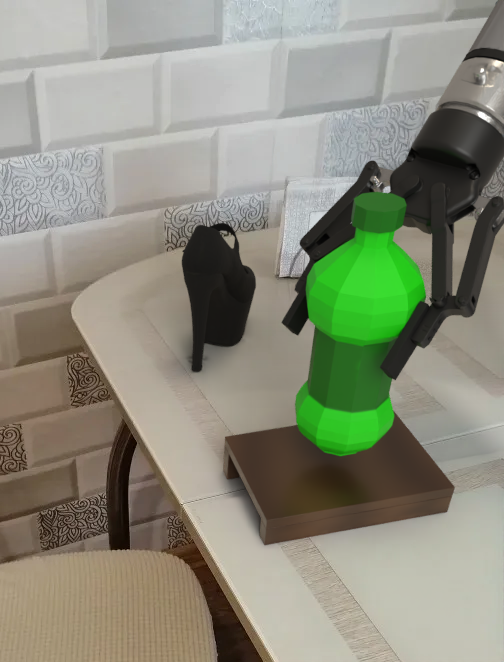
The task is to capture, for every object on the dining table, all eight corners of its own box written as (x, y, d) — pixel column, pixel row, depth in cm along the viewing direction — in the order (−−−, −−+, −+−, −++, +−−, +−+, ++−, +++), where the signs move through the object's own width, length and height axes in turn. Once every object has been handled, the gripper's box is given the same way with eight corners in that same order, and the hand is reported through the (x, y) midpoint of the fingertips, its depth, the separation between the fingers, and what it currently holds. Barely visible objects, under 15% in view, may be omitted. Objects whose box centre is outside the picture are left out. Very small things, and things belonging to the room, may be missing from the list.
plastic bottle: (381, 411, 86) (431, 178, 69) (394, 474, 78) (455, 228, 62) (287, 408, 87) (314, 177, 70) (291, 470, 79) (323, 227, 63)
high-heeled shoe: (262, 317, 117) (273, 181, 104) (217, 385, 105) (223, 239, 91) (211, 308, 120) (215, 174, 107) (161, 372, 107) (159, 229, 94)
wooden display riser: (385, 443, 94) (392, 409, 91) (444, 522, 84) (455, 487, 81) (222, 470, 91) (224, 436, 88) (263, 556, 81) (267, 520, 78)
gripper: (349, 80, 74) (226, 292, 77) (596, 134, 61) (437, 387, 64) (373, 126, 80) (259, 321, 83) (603, 184, 67) (457, 413, 70)
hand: (336, 350), depth 73 cm, fingers closed on plastic bottle, 10 cm apart
